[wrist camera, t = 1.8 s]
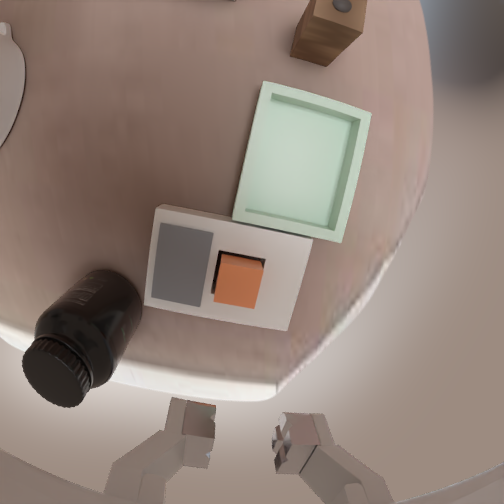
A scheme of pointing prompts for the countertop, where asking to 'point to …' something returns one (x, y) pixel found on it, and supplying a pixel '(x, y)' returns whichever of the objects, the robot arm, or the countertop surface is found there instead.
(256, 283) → the button
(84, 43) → the countertop surface
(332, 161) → the bay tray
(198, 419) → the robot arm
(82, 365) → the supplement bottle
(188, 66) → the countertop surface
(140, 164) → the countertop surface
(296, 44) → the wooden block
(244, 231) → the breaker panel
